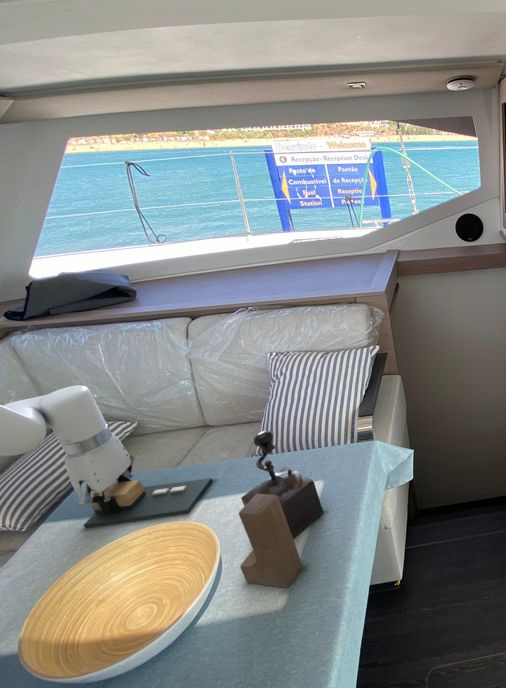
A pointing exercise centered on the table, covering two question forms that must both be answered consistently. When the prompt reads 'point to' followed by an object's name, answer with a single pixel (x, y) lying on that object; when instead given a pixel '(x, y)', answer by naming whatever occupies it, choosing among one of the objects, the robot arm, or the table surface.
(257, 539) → the wooden block
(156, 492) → the chalk mark
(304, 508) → the manual coffee grinder
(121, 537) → the table surface
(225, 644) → the table surface
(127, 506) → the eraser
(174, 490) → the chalk mark
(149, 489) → the slate board
